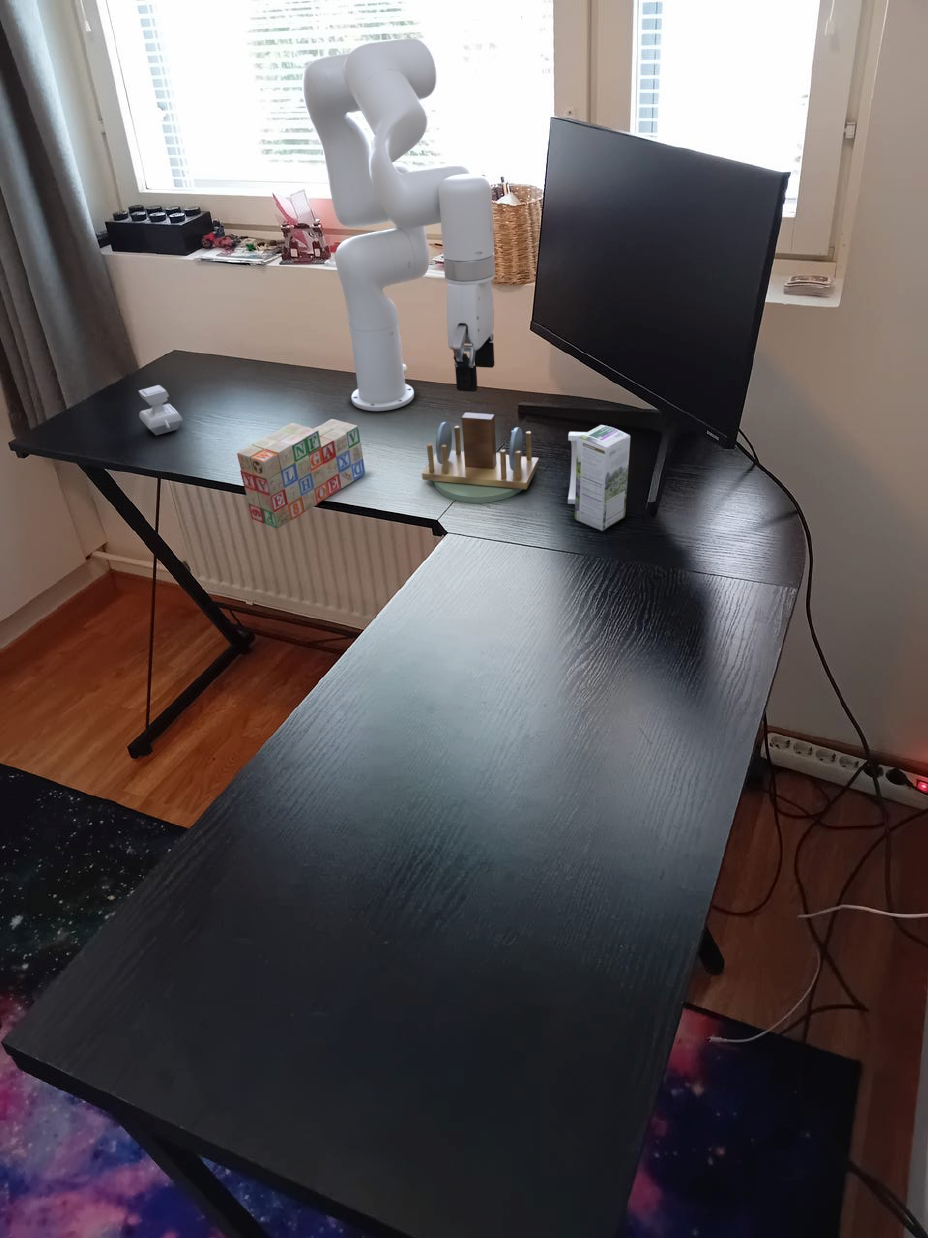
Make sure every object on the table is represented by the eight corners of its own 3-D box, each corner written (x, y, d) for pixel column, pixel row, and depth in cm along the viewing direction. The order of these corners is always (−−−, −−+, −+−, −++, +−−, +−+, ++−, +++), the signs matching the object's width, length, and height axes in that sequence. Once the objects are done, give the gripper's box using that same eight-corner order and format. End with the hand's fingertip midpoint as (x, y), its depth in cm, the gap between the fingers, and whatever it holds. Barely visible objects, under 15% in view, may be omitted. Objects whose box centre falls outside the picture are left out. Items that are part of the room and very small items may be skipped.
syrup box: (597, 505, 151) (599, 422, 142) (626, 518, 147) (631, 433, 139) (574, 520, 148) (575, 435, 139) (603, 532, 144) (606, 446, 135)
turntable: (450, 454, 168) (450, 448, 168) (538, 461, 164) (538, 455, 163) (422, 498, 156) (421, 491, 155) (515, 507, 152) (515, 500, 151)
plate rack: (422, 479, 158) (416, 423, 152) (438, 455, 165) (434, 400, 159) (526, 489, 153) (525, 431, 147) (539, 463, 160) (538, 408, 154)
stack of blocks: (340, 466, 167) (329, 401, 160) (366, 474, 164) (357, 408, 157) (250, 519, 154) (235, 451, 147) (277, 529, 151) (262, 460, 143)
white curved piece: (567, 503, 152) (568, 435, 145) (571, 485, 157) (572, 418, 149) (596, 505, 151) (598, 436, 144) (599, 486, 156) (601, 419, 149)
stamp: (187, 433, 182) (177, 392, 177) (154, 442, 180) (142, 401, 175) (173, 417, 188) (162, 377, 183) (140, 427, 186) (129, 386, 181)
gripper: (462, 250, 146) (469, 357, 156) (426, 284, 133) (436, 398, 143) (509, 251, 144) (512, 359, 154) (477, 286, 131) (483, 401, 141)
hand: (476, 378), depth 149 cm, fingers open, 9 cm apart
